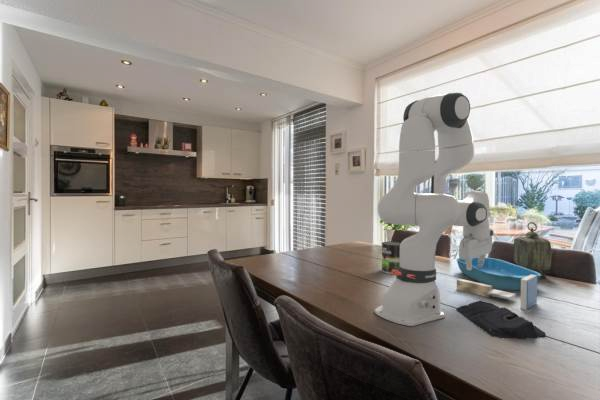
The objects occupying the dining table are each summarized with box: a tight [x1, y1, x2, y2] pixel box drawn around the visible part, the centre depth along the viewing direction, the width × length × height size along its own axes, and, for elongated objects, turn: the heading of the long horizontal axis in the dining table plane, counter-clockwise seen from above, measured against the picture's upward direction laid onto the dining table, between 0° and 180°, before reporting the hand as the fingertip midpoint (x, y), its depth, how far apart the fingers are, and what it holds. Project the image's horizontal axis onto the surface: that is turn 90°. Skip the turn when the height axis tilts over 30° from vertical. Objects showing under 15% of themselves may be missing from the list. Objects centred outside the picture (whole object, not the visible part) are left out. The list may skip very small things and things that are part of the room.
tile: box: [520, 274, 538, 311], centre depth 106 cm, size 2×10×10 cm, turn 127°
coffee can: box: [381, 241, 401, 275], centre depth 152 cm, size 10×10×14 cm
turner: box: [456, 278, 516, 300], centre depth 117 cm, size 19×6×4 cm, turn 38°
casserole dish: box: [455, 257, 542, 291], centre depth 137 cm, size 37×22×7 cm, turn 3°
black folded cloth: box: [455, 300, 546, 340], centre depth 93 cm, size 15×22×5 cm
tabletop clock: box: [512, 221, 552, 279], centre depth 145 cm, size 14×9×25 cm, turn 171°
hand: (475, 267), depth 120 cm, fingers open, 8 cm apart
